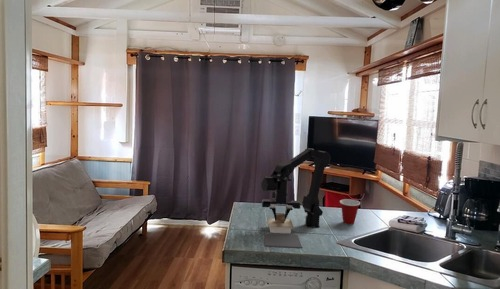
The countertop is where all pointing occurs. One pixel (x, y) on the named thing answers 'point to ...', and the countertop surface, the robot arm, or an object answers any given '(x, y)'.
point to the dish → (280, 230)
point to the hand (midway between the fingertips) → (280, 220)
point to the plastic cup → (349, 210)
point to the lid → (279, 221)
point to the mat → (282, 240)
